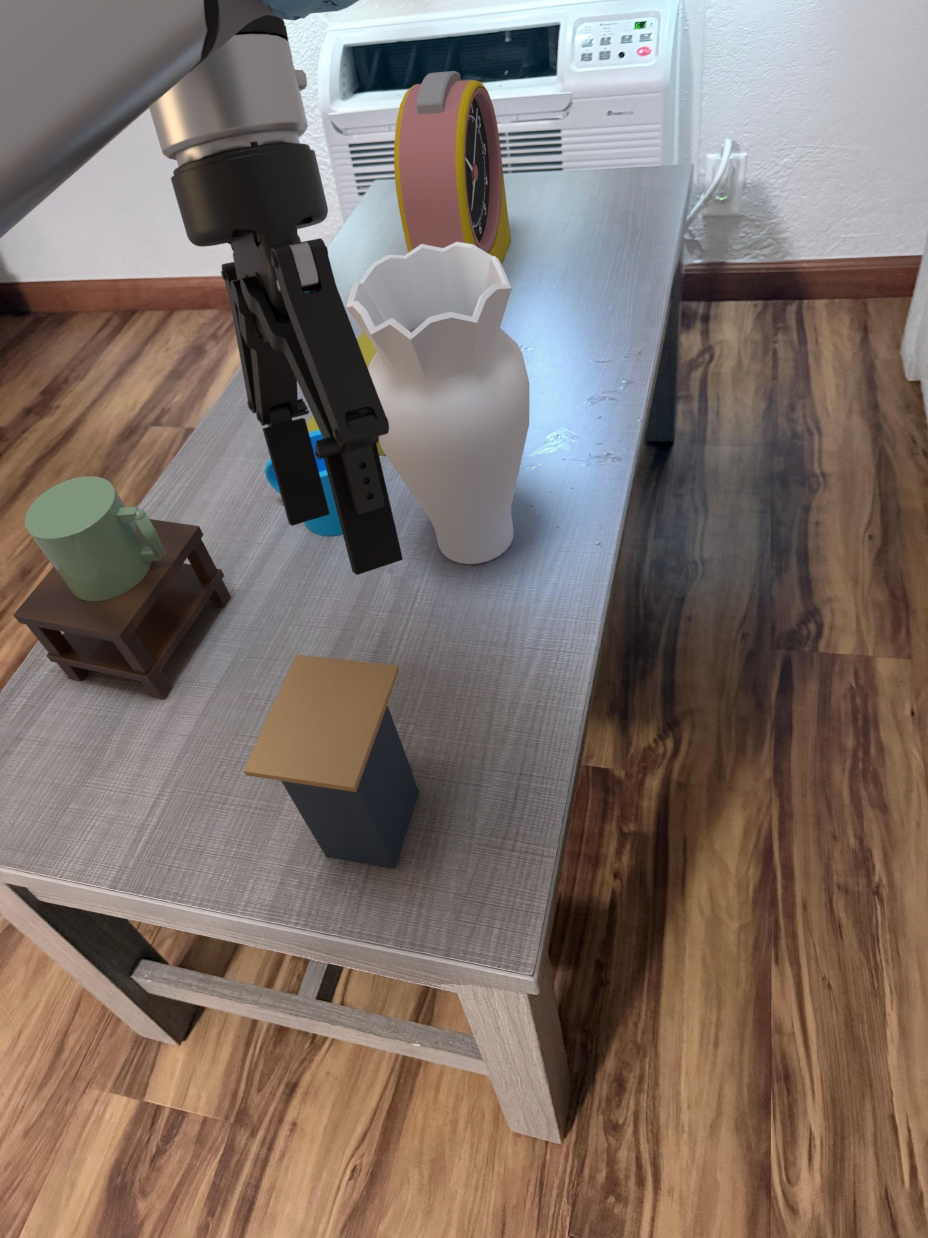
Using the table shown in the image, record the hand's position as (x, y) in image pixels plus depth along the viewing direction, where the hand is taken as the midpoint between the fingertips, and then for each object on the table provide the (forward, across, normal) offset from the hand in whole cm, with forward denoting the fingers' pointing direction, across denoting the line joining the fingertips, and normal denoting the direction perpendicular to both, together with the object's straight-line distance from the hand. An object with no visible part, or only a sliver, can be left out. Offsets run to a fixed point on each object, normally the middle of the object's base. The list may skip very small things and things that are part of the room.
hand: (340, 540), depth 54 cm
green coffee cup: (+7, +35, +12) cm, 38 cm away
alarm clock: (-10, +74, -47) cm, 88 cm away
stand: (+27, +10, +1) cm, 28 cm away
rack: (+16, +40, +12) cm, 44 cm away
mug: (+10, +45, -10) cm, 47 cm away
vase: (+14, +31, -22) cm, 40 cm away
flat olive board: (+1, +59, -25) cm, 64 cm away
